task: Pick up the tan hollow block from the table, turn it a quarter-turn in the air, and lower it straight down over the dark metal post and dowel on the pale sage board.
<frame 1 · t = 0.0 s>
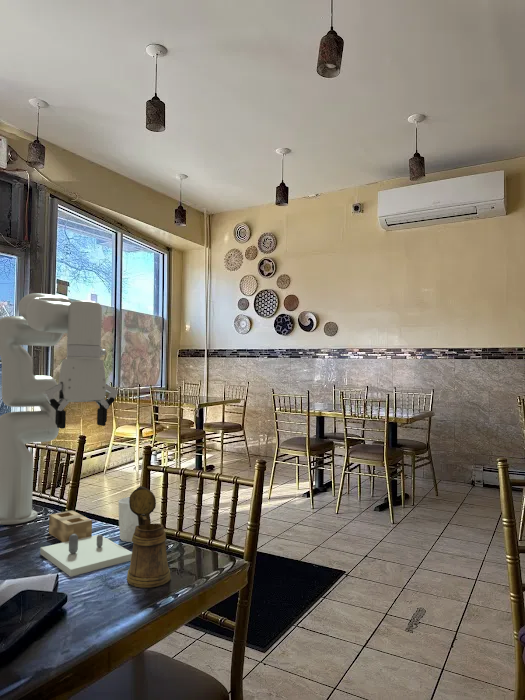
hand: (81, 426, 118), 31 cm above the table, fingers open, 9 cm apart
white cup: (132, 538, 134), on the table
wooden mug: (146, 576, 109), on the table
tan hollow block: (69, 536, 134), on the table
post board: (86, 556, 120), on the table
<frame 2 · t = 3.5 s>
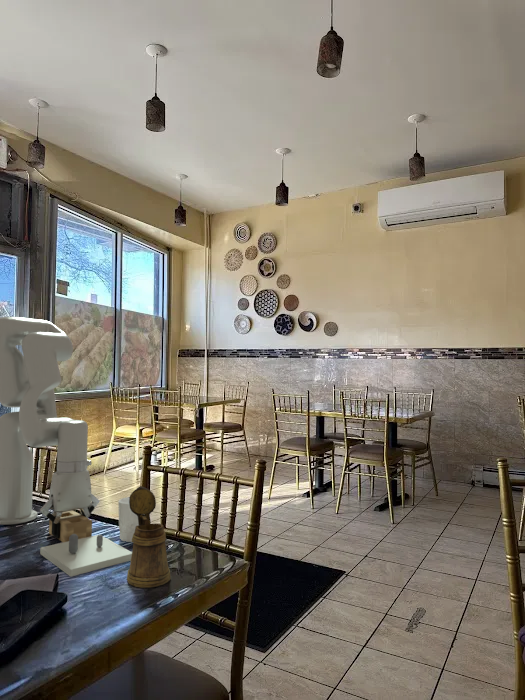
hand: (69, 533, 134), 1 cm above the table, fingers closed on tan hollow block, 6 cm apart
tan hollow block: (69, 536, 134), on the table, touching gripper
everything else where it was.
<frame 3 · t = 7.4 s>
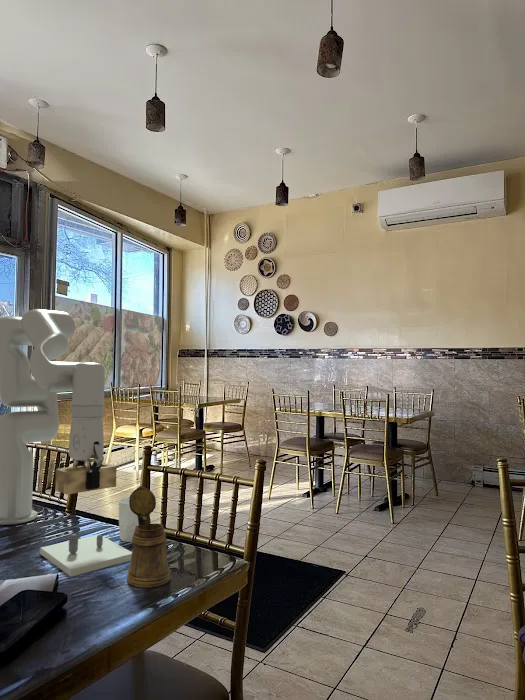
hand: (86, 485, 123), 16 cm above the table, fingers closed on tan hollow block, 6 cm apart
tan hollow block: (86, 488, 123), point 16 cm above the table, touching gripper
everything else where it was.
when the fingers open (3 cm above the table, at t = 11.6 s): tan hollow block stays where it is, resting on post board.
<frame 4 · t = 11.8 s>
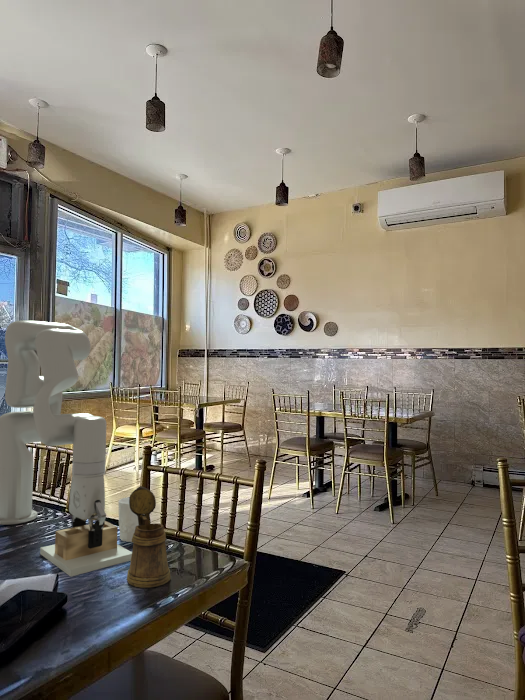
hand: (86, 541, 120), 4 cm above the table, fingers open, 8 cm apart
tan hollow block: (86, 550, 120), point 1 cm above the table, touching post board
everything else where it was.
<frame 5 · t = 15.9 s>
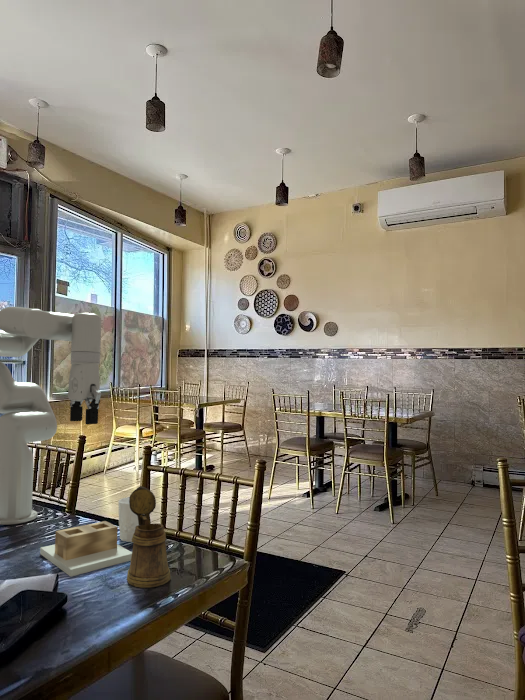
hand: (83, 422, 135), 30 cm above the table, fingers open, 9 cm apart
nothing on the table moved.
at the end: tan hollow block 0.1 cm off-centre on the post board, point 1.5 cm above the post board's base; tan hollow block tilted 0°; the gripper is holding nothing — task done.
